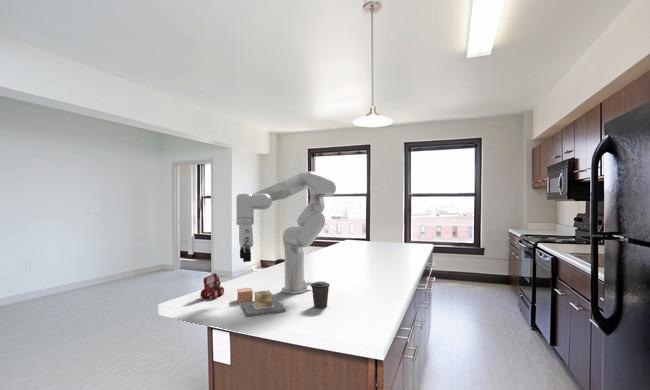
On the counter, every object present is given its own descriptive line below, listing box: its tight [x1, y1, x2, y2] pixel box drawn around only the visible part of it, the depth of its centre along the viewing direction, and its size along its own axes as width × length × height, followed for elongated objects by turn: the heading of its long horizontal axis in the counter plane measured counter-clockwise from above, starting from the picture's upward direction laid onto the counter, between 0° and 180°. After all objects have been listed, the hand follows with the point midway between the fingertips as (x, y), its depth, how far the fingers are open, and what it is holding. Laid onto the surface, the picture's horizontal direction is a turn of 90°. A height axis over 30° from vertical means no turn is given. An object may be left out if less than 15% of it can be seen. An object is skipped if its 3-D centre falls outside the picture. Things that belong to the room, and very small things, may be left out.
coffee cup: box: [310, 281, 331, 310], centre depth 132 cm, size 8×8×10 cm
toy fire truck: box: [200, 272, 225, 300], centre depth 148 cm, size 7×12×10 cm, turn 168°
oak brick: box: [253, 289, 273, 308], centre depth 131 cm, size 6×6×5 cm
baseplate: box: [241, 297, 286, 318], centre depth 130 cm, size 15×15×1 cm
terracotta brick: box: [237, 287, 254, 305], centre depth 141 cm, size 6×6×5 cm
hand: (245, 259), depth 141 cm, fingers open, 9 cm apart
